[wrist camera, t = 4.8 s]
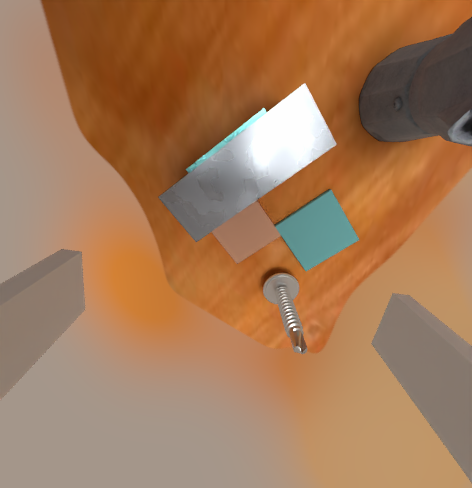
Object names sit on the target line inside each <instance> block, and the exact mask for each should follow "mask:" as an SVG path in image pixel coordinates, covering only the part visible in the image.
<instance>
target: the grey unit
mask: <svg viewBox="0 0 472 488" xmlns="http://www.w3.org/2000/svg"><path fill="white" fill-rule="evenodd" d="M335 145H337V144H336V142H335V140H334V138H333V136H332V134H331V132H330V130H329V129H328V127H327V125H326V123H325V121H324V119H323V117H322V115H321V113H320V111H319V109H318V107H317V105H316V103H315V101H314V100H313V98H312V96H311V94H310V92H309V90H308V88H307V86H306V84H305V83H304V84H303V85H302V86H300V87H299V88H298V89H296V90H295V91H294V92H293V93H291V94H290V95H289V96H287V97H286V98H285V99H283V100H282V101H281V102H279V103H278V104H277V105H276V106H274V107H273V108H272V109H270V110H269V111H268V112H266V110H265V109H264V108H263V109H262V110H261V111H260V112H258V113H257V114H256V115H254V116H253V117H252V118H251V119H249V120H248V121H247V122H246V123H244V124H243V125H242V126H240V127H239V128H238V129H237V130H235V131H234V132H233V133H232V134H230V135H229V136H228V137H226V138H225V139H224V140H223V141H221V142H220V143H219V144H218V145H216V146H215V147H214V148H212V149H211V150H210V151H209V152H207V153H206V154H205V155H204V156H202V157H201V158H200V159H198V160H197V161H196V162H195V163H193V164H192V165H191V166H190V167H188V168H187V169H186V170H187V171H188V174H187V175H186V176H184V177H183V178H182V179H181V180H179V181H178V182H177V183H175V184H174V185H173V186H172V187H170V188H169V189H168V190H167V191H165V192H164V193H163V194H162V195H160V196H159V197H158V198H159V199H160V200H161V201H162V202H163V204H164V205H165V206H166V207H167V208H168V209H169V211H170V212H171V213H172V214H173V215H174V217H175V218H176V219H177V220H178V221H179V222H180V224H181V225H182V226H183V227H184V228H185V230H186V231H187V232H188V233H189V234H190V235H191V237H192V238H193V239H194V240H195V241H196V242H197V241H199V240H200V239H202V238H203V237H205V236H206V235H207V234H209V233H210V232H212V231H213V230H215V229H216V228H217V227H219V226H220V225H222V224H223V223H225V222H226V221H227V220H229V219H230V218H232V217H233V216H235V215H236V214H238V213H239V212H240V211H242V210H243V209H245V208H246V207H248V206H249V205H250V204H252V203H253V202H255V201H256V200H258V199H259V198H261V197H262V196H263V195H265V194H266V193H268V192H269V191H271V190H272V189H273V188H275V187H276V186H278V185H279V184H281V183H282V182H284V181H285V180H286V179H288V178H289V177H291V176H292V175H294V174H295V173H296V172H298V171H299V170H301V169H302V168H304V167H305V166H306V165H308V164H309V163H311V162H312V161H314V160H315V159H317V158H318V157H319V156H321V155H322V154H324V153H325V152H327V151H328V150H329V149H331V148H332V147H334V146H335Z"/></svg>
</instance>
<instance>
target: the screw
mask: <svg viewBox="0 0 472 488" xmlns="http://www.w3.org/2000/svg"><path fill="white" fill-rule="evenodd" d="M298 292H299V284H298V282H297V280H296V278H295V277H294V276H292V275H290V274H288V273H277V274H274V275H272V276H270V277H269V278H268V279H267V280H266V281H265V283H264V286H263V293H264V296H265V297H266V299H267V300H268V301H270V302H271V303H274V304H278V306H279V310H280V313H281V317H282V320H283V324H284V327H285V331H286V333H287V335H288V337H290V339H291V343H292V346H293V349H294V352H298V353H301V354H304V353H306V351H307V346H306V343H305V341H304V338H303V327H302V326H301V322H300V319H299V316H298V314H297V311H296V308H295V306H294V303H293V299H294V298H295V297H296V296H297V294H298Z"/></svg>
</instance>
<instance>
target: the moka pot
mask: <svg viewBox="0 0 472 488" xmlns="http://www.w3.org/2000/svg"><path fill="white" fill-rule="evenodd" d="M359 112H360V118H361V122H362V125H363V127H364V128H365V129H366V130H367V131H368V133H370V134H371V135H372V136H373V137H375V138H376V139H377V140H379V141H384V142H405V141H410V140H416V139H421V138H426V137H432V136H438V135H440V136H441V137H442V138H443V139H445V140H447V141H451V142H454V143H459V144H463V145H467V146H472V17H471V18H470V19H468V20H467V21H466V22H464V23H463V24H462V25H461V26H460V27H459V28H458V29H457V30H456V31H455V32H454V33H453V34H450V35H446V36H443V37H439V38H436V39H433V40H429V41H424V42H420V43H417V44H413V45H409V46H405V47H402V48H399V49H398V50H396V51H395V52H393V53H392V54H390V55H389V56H387V57H386V58H385V59H384V60H382V61H381V62H380V63H378V64H377V65H376V66H375V67H374V68H373V69H372V71H371V73H370V74H369V76H368V78H367V80H366V82H365V84H364V86H363V89H362V90H361V94H360V98H359Z"/></svg>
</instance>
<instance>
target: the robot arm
mask: <svg viewBox="0 0 472 488" xmlns="http://www.w3.org/2000/svg"><path fill="white" fill-rule="evenodd" d="M81 253H82V252H79V251H72V250H64V249H61V250H60V251H58V252H56V253H54V254H52V255H51V256H49V257H47V258H45V259H44V260H42V261H40V262H38V263H37V264H35V265H33V266H31V267H30V268H28V269H26V270H24V271H23V272H21V273H19V274H17V275H16V276H14V277H12V278H10V279H9V280H7V281H5V282H3V283H2V284H0V400H1V399H2V398H3V397H4V396H5V395H6V394H7V393H8V392H9V390H10V389H11V388H12V387H13V386H14V385H15V384H16V383H17V382H18V381H19V380H20V379H21V378H22V377H23V375H24V374H25V373H26V372H27V371H28V370H29V369H30V368H31V367H32V366H33V365H34V364H35V363H36V361H38V359H39V358H40V357H41V356H42V355H43V354H44V353H45V352H46V351H47V350H48V349H49V348H50V347H51V346H52V344H53V343H54V342H55V341H56V340H57V339H58V338H59V337H60V336H61V335H62V334H63V333H64V332H65V331H66V330H67V328H68V327H69V326H70V325H71V324H72V323H73V322H74V321H75V320H76V319H77V318H78V316H79V315H81V313H82V312H83V311H84V310H85V300H84V284H83V268H82V254H81ZM372 345H373V347H374V348H375V349H376V351H377V352H378V353H379V355H380V356H381V358H382V359H383V360H384V362H385V363H386V365H387V366H388V367H389V369H390V370H391V371H392V373H393V374H394V376H395V377H396V378H397V380H398V381H399V382H400V384H401V385H402V387H403V388H404V389H405V391H406V392H407V394H408V395H409V396H410V398H411V399H412V401H413V402H414V403H415V405H416V406H417V407H418V409H419V410H420V412H421V413H422V415H423V416H424V417H425V419H426V420H427V421H428V423H429V424H430V426H431V427H432V428H433V430H434V431H435V432H436V434H437V435H438V437H439V438H440V440H441V441H442V442H443V444H444V445H445V446H446V448H447V449H448V451H449V452H450V453H451V455H452V456H453V458H454V459H455V460H456V462H457V463H458V464H459V466H460V467H461V468H462V470H463V471H464V473H465V474H466V476H467V477H468V478H469V480H470V481H471V482H472V346H471V345H470V344H468V343H467V342H466V341H465V340H464V339H462V338H461V337H460V336H458V335H457V334H456V333H455V332H454V331H452V330H451V329H450V328H449V327H448V326H446V325H445V324H444V323H443V322H441V321H440V320H439V319H438V318H437V317H435V316H434V315H433V314H432V313H430V312H429V311H428V310H427V309H426V308H424V307H423V306H422V305H420V304H419V303H418V302H417V301H416V300H415V299H413V298H412V297H411V296H409V295H403V294H395V293H393V294H392V296H391V299H390V301H389V303H388V306H387V308H386V310H385V313H384V315H383V317H382V320H381V322H380V324H379V327H378V329H377V332H376V334H375V336H374V339H373V341H372Z"/></svg>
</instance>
